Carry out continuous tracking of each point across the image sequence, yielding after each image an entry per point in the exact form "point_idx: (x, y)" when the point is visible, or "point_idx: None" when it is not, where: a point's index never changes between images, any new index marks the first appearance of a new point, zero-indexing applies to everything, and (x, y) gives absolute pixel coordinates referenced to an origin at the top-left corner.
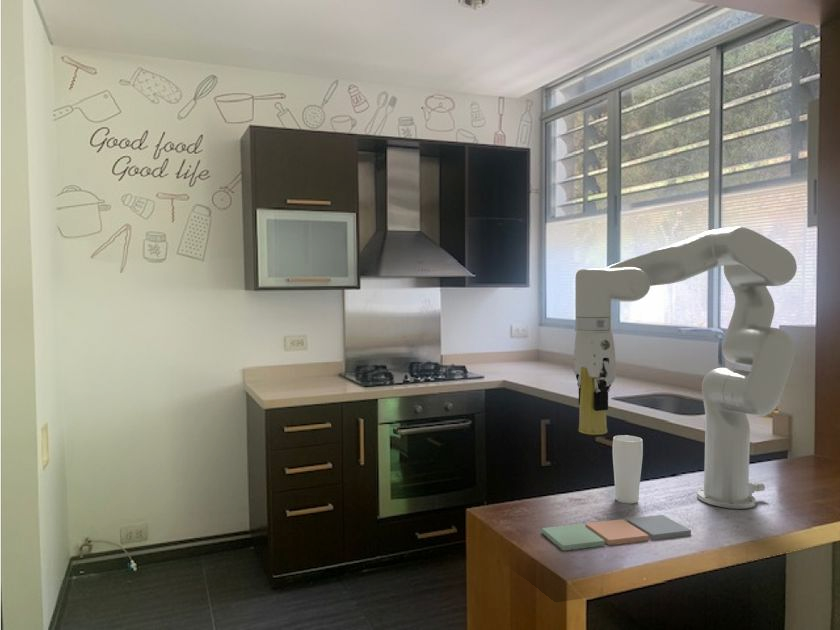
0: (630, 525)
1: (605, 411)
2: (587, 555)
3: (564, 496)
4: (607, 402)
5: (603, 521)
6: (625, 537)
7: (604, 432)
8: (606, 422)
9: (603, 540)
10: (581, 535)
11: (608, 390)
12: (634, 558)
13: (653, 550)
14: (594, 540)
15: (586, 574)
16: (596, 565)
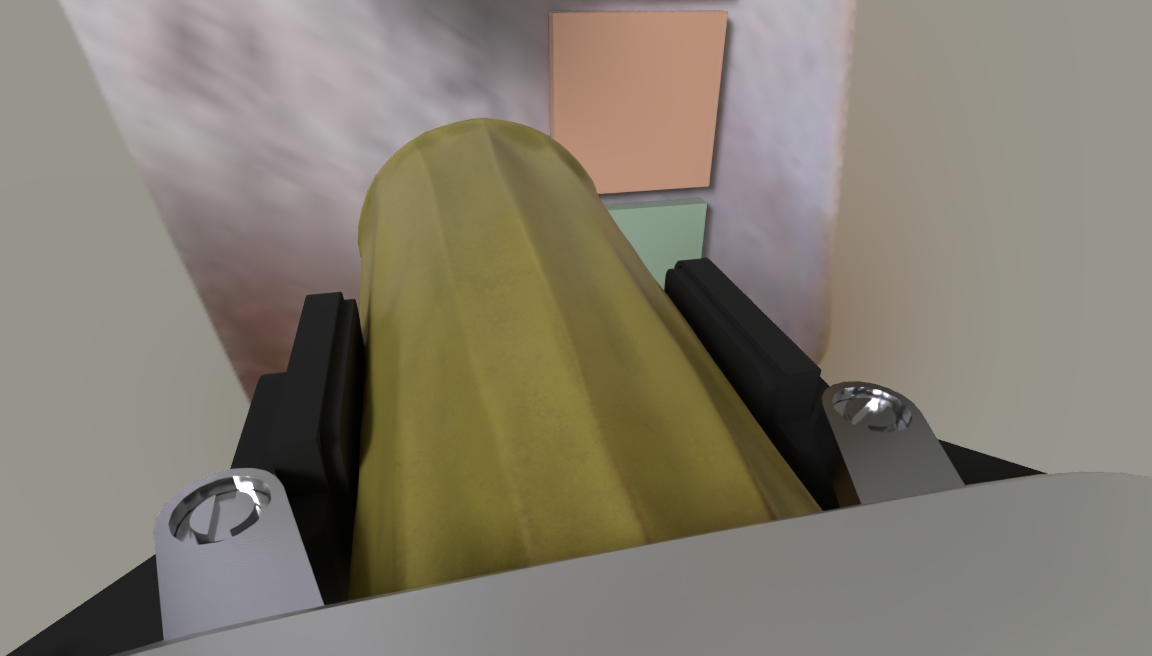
0: (624, 22)
1: (622, 234)
2: (735, 278)
3: (133, 95)
4: (741, 299)
5: (555, 114)
6: (711, 116)
7: (597, 193)
8: (571, 170)
9: (705, 207)
10: (647, 257)
11: (894, 410)
12: (805, 154)
13: (788, 51)
14: (695, 235)
15: (818, 325)
16: (792, 281)
